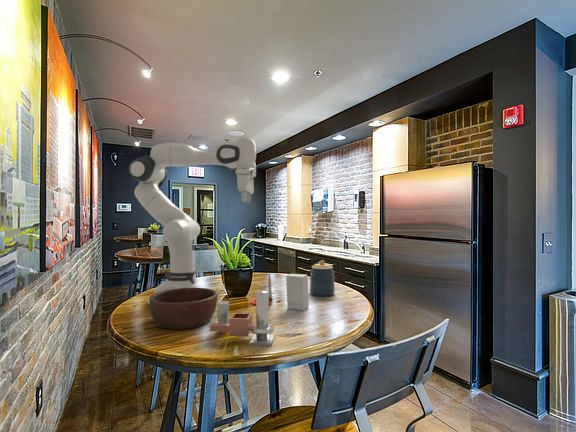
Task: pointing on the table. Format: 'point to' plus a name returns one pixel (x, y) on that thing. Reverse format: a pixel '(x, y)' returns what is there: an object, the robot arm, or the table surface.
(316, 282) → the canister
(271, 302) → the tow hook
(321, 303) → the table surface
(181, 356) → the table surface
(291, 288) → the skincare box
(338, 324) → the table surface
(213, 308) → the wooden bowl
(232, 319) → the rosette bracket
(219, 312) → the wedge pin
